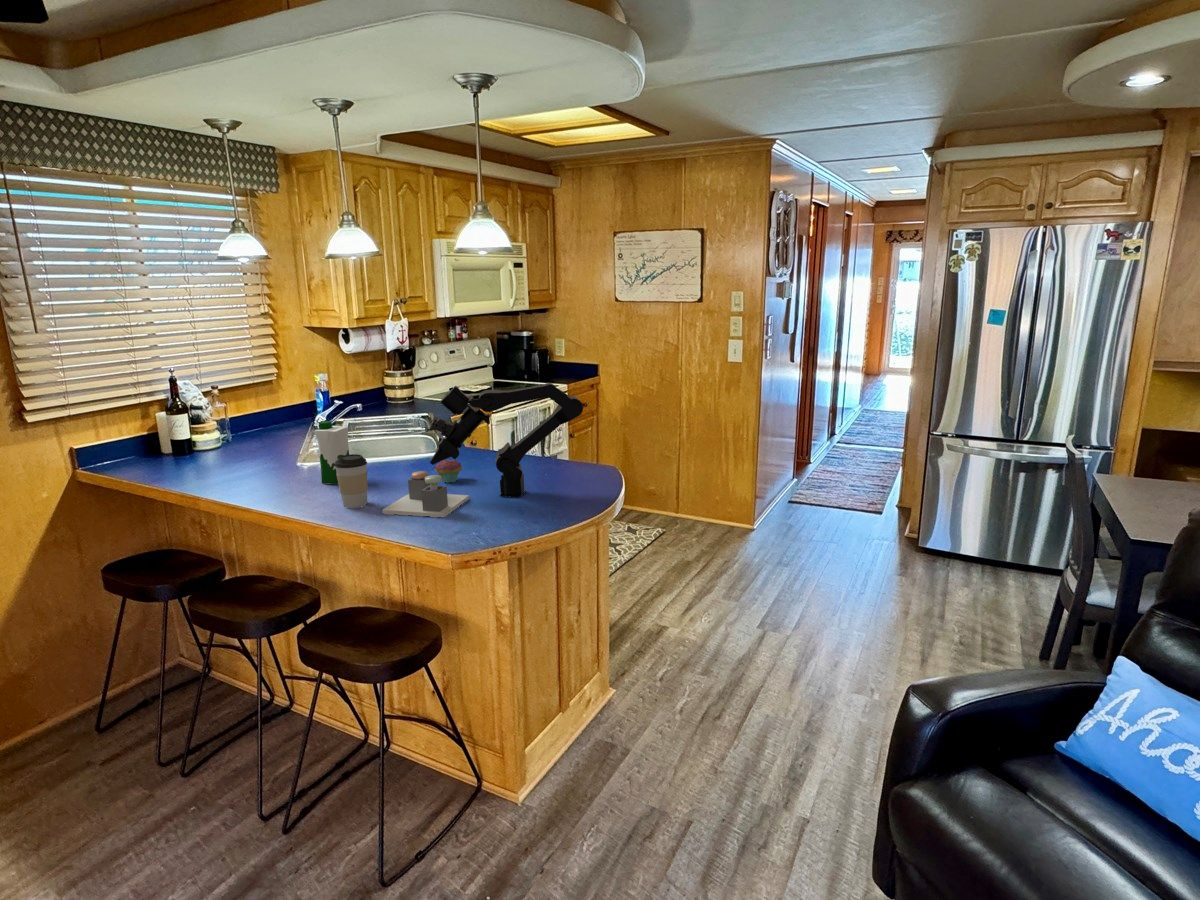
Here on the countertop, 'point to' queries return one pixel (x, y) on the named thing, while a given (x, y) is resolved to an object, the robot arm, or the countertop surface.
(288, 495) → the countertop surface
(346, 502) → the coffee cup
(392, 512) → the grey button stand
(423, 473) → the terracotta button
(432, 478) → the sage button
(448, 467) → the cupcake
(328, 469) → the milk carton
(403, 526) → the countertop surface
